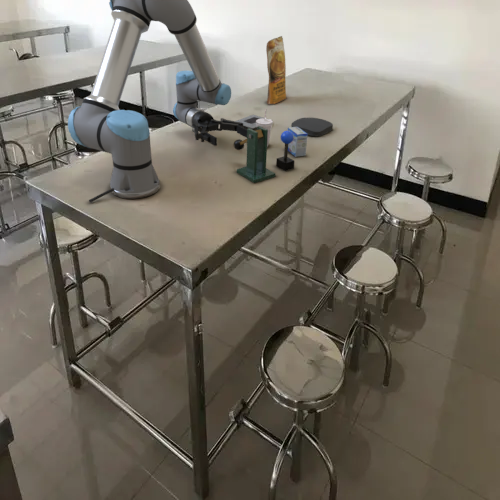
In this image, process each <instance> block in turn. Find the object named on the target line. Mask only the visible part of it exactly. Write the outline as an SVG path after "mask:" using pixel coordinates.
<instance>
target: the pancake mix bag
mask: <svg viewBox="0 0 500 500" xmlns="http://www.w3.org/2000/svg"><path fill="white" fill-rule="evenodd" d="M265 51H266V60H267V62H266V65H267V75H268V83H267V98H266V99H267V100H266V104H267V105H276V104H278V103H280V102H282V101H284V100H286V99H287V92H286V91H287V90H286V81H287V80H286V75H287V74H286V73H287V72H286V71H287V70H286V69H287V68H286V66H287V65H286V53H285V52H286V51H285V45H284V37H283V35H280V36H277V37H274V38H272V39H270V40H269V41H267V43H266V50H265Z"/></svg>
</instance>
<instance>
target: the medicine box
mask: <svg viewBox="0 0 500 500" xmlns="http://www.w3.org/2000/svg"><path fill="white" fill-rule="evenodd" d="M287 131H290V132H292V133H293V136H294V138H293V141H292V142H291V143H289V144H288V153H290V155H292V156H293V157H294V158H297V157H299V158H300V157H306V155H307V146H308V145H307V144H308V136H309V135H308V134H307V133H306V132H304V131H303V130H302V129H300V128H299V127H291V126H289V127H287Z"/></svg>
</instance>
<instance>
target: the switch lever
mask: <svg viewBox="0 0 500 500" xmlns="http://www.w3.org/2000/svg"><path fill="white" fill-rule="evenodd" d="M255 131H256V132H258V139H259V138H261V137H263V134H262V130H261V129H260V130H257V129H256V130H255ZM246 144H247V138H245V139H243V140H242V139H240V138H239V139H236V140H235V141H234V142H233V147H234V149H235V150H237V151H242V150H243V149H244V148H245V145H246Z"/></svg>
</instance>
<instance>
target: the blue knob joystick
mask: <svg viewBox="0 0 500 500" xmlns="http://www.w3.org/2000/svg"><path fill="white" fill-rule="evenodd" d="M293 138H294V136H293V133H292V132H290V131H288V130H284V131H282V132H281V134H280V141H281V142H282V143H283V144H284V150H283V156H279V157H276V160H275V167H277V168H278V169H280V170H282V171H284V172H287V171H290V170H294V169H295V160H294V159H292V158H290V157H289V155H288V154H289V151H288V144H289V143H291V142H292V141H293Z"/></svg>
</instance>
